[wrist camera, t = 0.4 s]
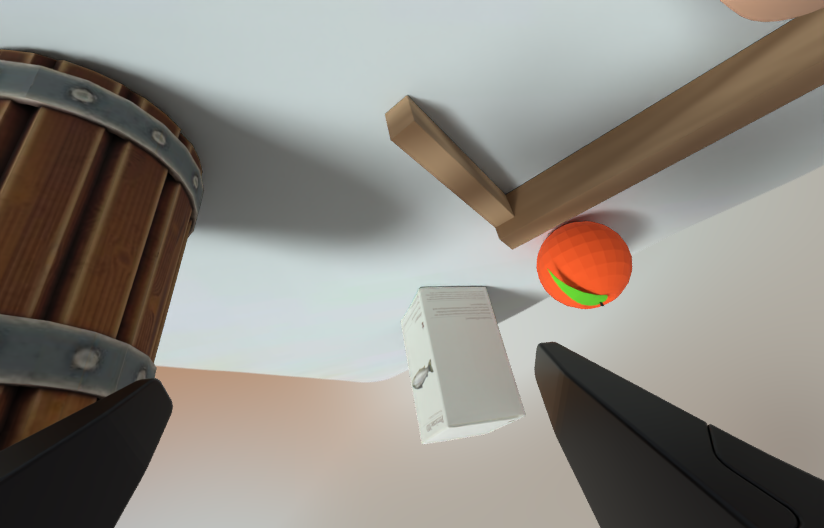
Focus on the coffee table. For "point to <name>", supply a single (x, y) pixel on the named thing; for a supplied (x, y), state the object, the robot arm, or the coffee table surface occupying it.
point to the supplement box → (458, 365)
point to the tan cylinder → (773, 8)
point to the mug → (83, 237)
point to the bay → (627, 135)
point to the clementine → (584, 265)
